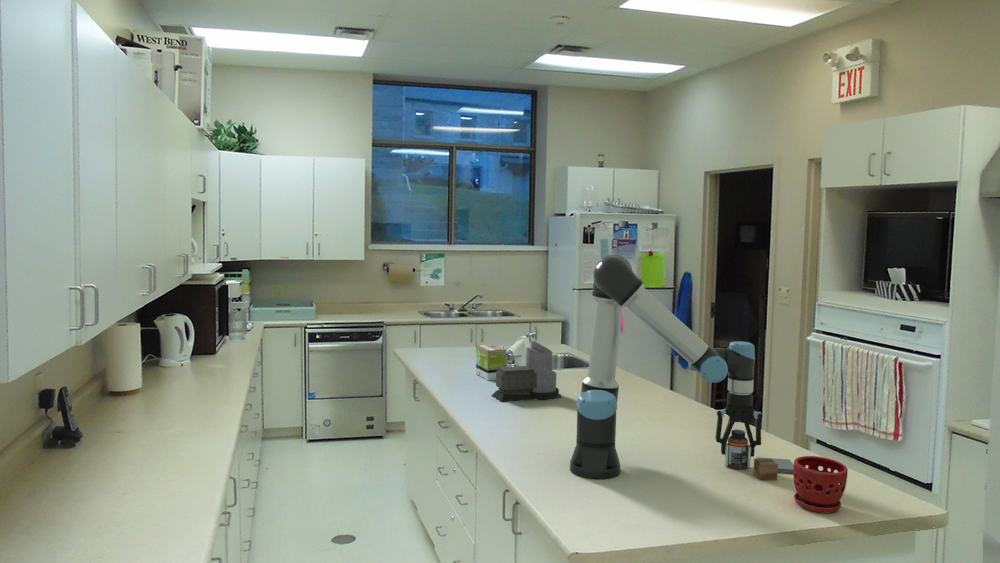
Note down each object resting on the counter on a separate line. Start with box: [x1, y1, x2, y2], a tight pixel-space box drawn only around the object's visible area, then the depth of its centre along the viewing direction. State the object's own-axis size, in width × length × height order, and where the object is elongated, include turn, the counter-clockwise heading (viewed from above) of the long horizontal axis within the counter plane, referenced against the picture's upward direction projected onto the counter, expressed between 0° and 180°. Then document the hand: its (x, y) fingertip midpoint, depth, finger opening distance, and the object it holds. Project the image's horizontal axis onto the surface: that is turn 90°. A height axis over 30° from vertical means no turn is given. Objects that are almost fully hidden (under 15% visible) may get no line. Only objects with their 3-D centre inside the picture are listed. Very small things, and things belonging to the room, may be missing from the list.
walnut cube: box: [753, 458, 778, 481], centre depth 216 cm, size 5×5×5 cm
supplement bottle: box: [727, 428, 749, 470], centre depth 224 cm, size 6×6×11 cm
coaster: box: [756, 456, 794, 475], centre depth 225 cm, size 10×10×1 cm
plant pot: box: [792, 455, 849, 514], centre depth 193 cm, size 13×13×12 cm
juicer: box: [491, 339, 563, 403], centre depth 311 cm, size 30×16×24 cm, turn 111°
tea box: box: [475, 343, 507, 381], centre depth 350 cm, size 15×10×15 cm, turn 25°
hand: (736, 465), depth 225 cm, fingers closed on supplement bottle, 6 cm apart
